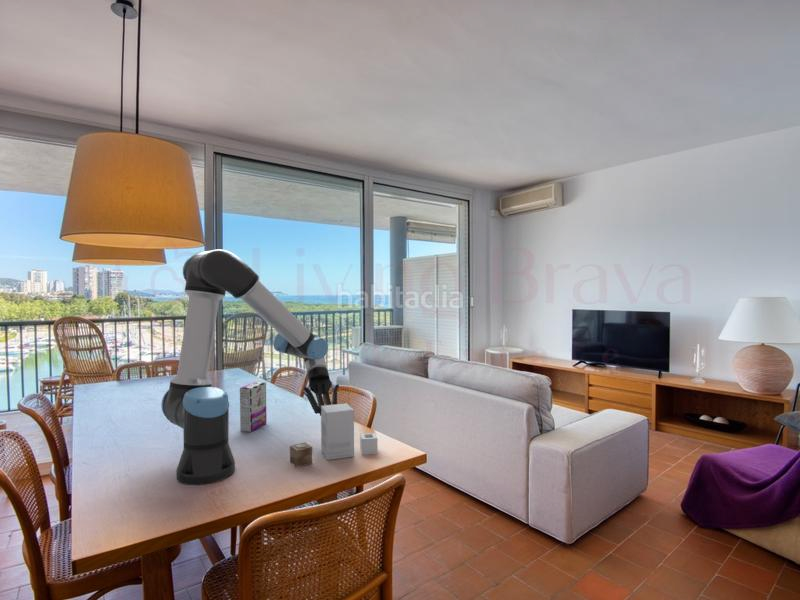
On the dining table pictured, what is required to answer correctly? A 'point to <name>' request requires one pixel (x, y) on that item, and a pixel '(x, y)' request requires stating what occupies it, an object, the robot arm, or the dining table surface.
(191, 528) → the dining table surface
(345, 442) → the supplement box
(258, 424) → the candy bar box
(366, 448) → the pale grey block
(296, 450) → the walnut block
